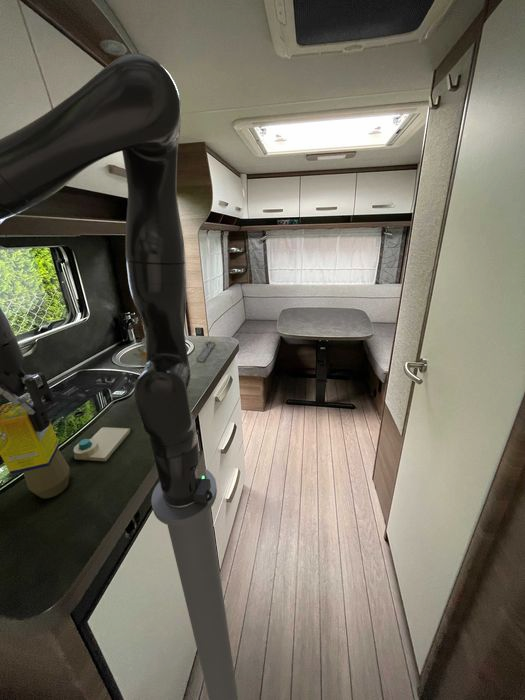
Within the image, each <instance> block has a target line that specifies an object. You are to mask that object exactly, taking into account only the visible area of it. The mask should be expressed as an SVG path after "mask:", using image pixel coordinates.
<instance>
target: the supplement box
mask: <svg viewBox="0 0 525 700" xmlns="http://www.w3.org/2000/svg"><path fill="white" fill-rule="evenodd" d="M27 402H28V403H29V404H31V405H32V406H33V405H34V403H33V401H32V400H31V399H29V400H27ZM28 415H29V413H28V412H27V411H25V410H24V409H23V408H22V407H21V406H15V405H14V404H13V403H11V402H8V403H4V404H1V407H0V457H1V459H2V461H3V463H4V464H5V466H6V469H7V470H8V472H9V474H10V475H11V476H13V475H18V474H21V473H23V472H26V471H30V470H34V469H39V468H43V467H47V466H49V465H50V464H51V462H52V459H53V457H54V456H55V453H56V451H57V449H59V447H60V445H61V444H60V442H59V439H58V437H57V435H56V434H57V433H56V432H55V430H54V427H53V425H52V423H51V421H50V424H49V426H48V427H47V428H46V429H44V430H43V431H42V432H36V431H35V429H34V427H33V425H32V422H31V420H30V418H29V416H28Z"/></svg>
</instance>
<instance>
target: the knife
mask: <svg viewBox="0 0 525 700" xmlns="http://www.w3.org/2000/svg"><path fill="white" fill-rule="evenodd" d="M206 344H207V347H205V348H204V350H203V352H202V353H201V354H200V356H199V357H198V361H199V362H201V363H203V362H204V360H206V358H207V357H208V355H209V354H210V352H211V350H212V349H213V348H214V346H215V344H214V343H213V342H212V341H207V342H206Z"/></svg>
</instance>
